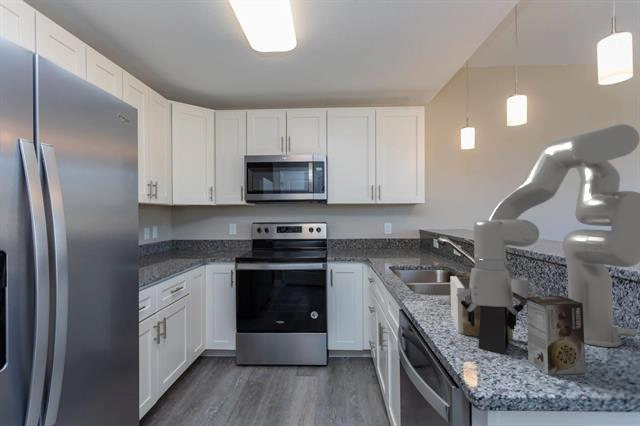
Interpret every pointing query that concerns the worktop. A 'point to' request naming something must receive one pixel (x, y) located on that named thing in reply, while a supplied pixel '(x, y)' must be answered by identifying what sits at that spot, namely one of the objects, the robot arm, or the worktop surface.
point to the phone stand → (494, 329)
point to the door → (476, 322)
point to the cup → (522, 287)
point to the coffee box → (556, 335)
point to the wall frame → (456, 303)
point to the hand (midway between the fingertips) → (491, 326)
